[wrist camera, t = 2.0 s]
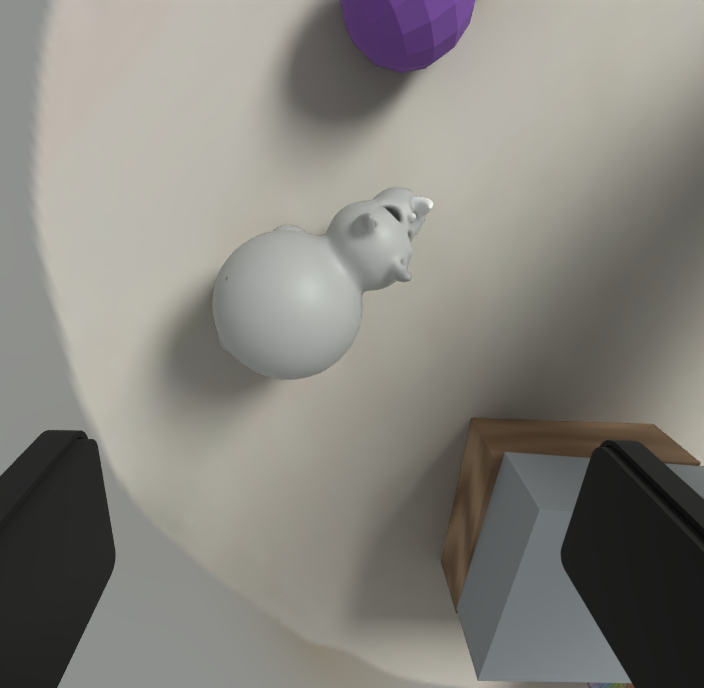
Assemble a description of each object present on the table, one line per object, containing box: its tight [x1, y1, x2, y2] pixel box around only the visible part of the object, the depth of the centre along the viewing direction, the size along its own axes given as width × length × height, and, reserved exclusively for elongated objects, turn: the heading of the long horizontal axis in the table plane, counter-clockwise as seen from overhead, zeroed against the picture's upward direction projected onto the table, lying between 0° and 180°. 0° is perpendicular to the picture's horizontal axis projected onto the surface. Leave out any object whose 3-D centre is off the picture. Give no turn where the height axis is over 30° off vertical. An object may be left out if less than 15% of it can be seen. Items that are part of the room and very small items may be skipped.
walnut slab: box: [441, 418, 700, 613], centre depth 34 cm, size 14×14×5 cm
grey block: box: [457, 452, 704, 683], centre depth 30 cm, size 14×14×5 cm
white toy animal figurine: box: [212, 187, 433, 380], centre depth 24 cm, size 8×12×9 cm, turn 124°
